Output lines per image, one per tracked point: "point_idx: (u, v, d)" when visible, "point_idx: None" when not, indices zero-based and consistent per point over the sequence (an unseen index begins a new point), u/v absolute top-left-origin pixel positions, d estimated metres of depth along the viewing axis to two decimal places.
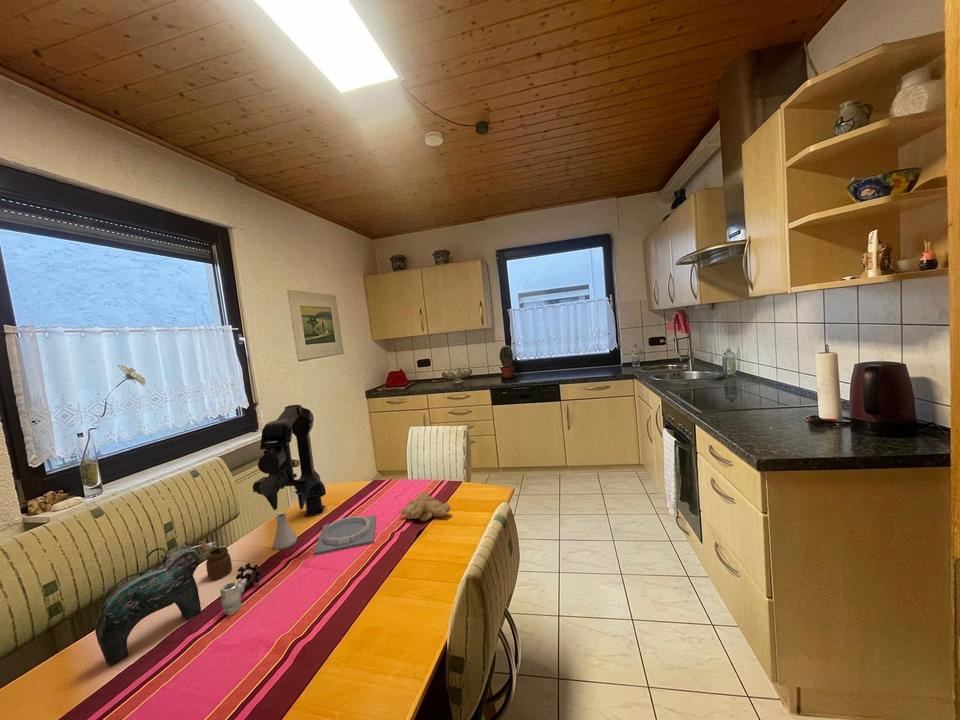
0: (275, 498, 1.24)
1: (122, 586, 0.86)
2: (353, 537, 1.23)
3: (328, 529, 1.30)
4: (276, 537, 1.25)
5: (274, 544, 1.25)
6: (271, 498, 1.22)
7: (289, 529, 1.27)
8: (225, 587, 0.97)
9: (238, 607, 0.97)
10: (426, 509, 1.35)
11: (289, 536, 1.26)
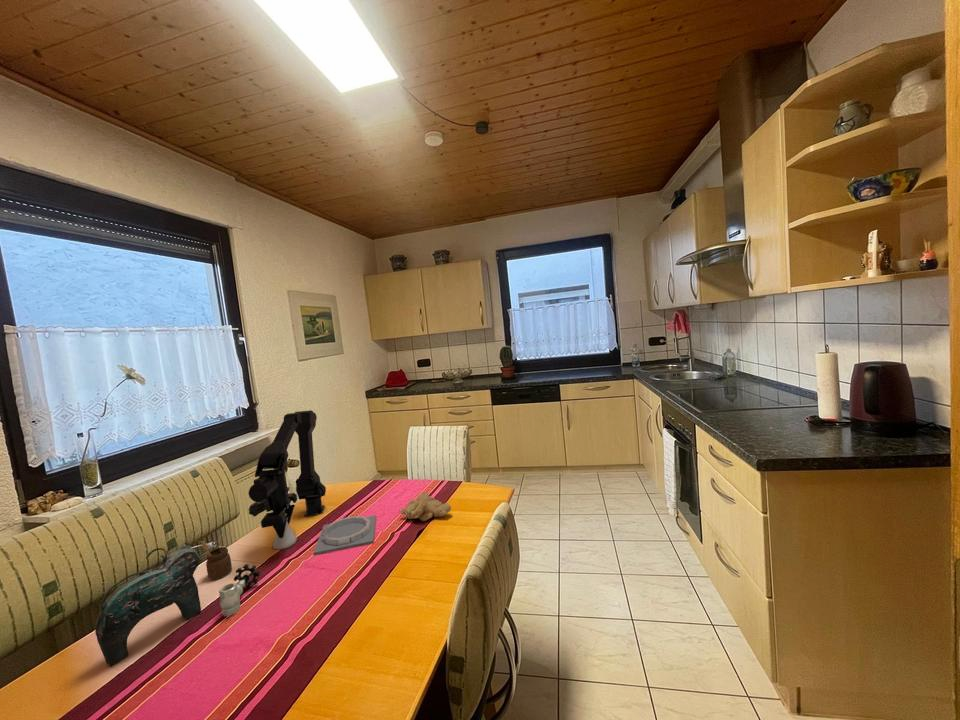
0: (286, 520, 1.29)
1: (122, 586, 0.86)
2: (353, 537, 1.23)
3: (328, 529, 1.30)
4: (276, 537, 1.25)
5: (274, 544, 1.25)
6: None
7: (289, 529, 1.27)
8: (224, 588, 0.96)
9: (237, 608, 0.96)
10: (426, 509, 1.35)
11: (289, 536, 1.26)
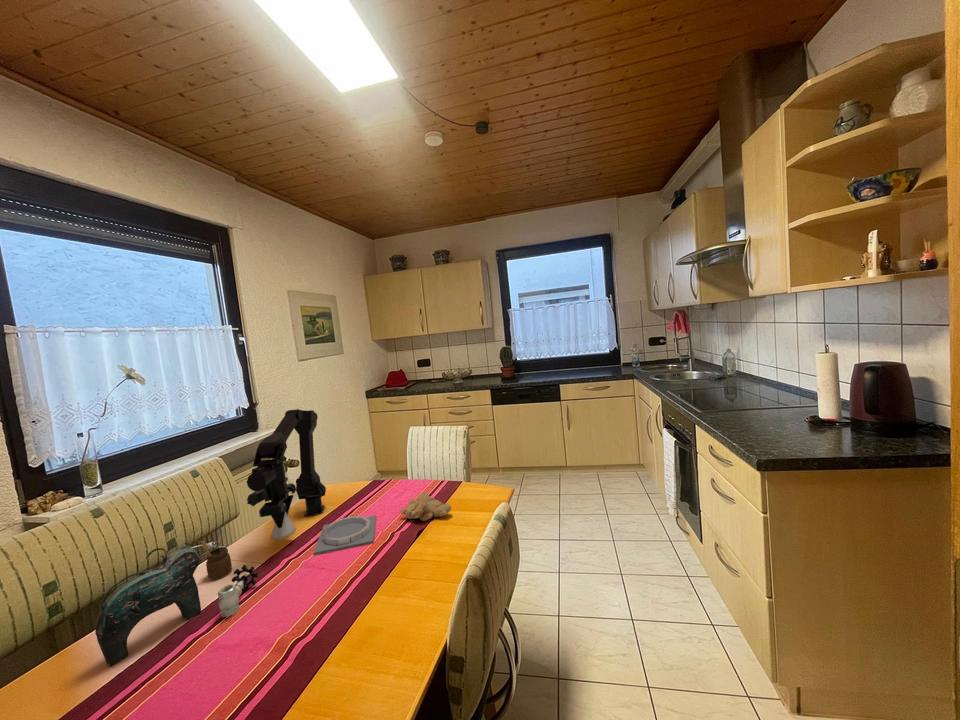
0: (285, 510, 1.29)
1: (122, 586, 0.86)
2: (353, 537, 1.23)
3: (328, 529, 1.30)
4: (275, 527, 1.25)
5: (273, 534, 1.24)
6: None
7: (288, 519, 1.27)
8: (222, 590, 0.96)
9: (236, 609, 0.96)
10: (426, 509, 1.35)
11: (288, 526, 1.26)
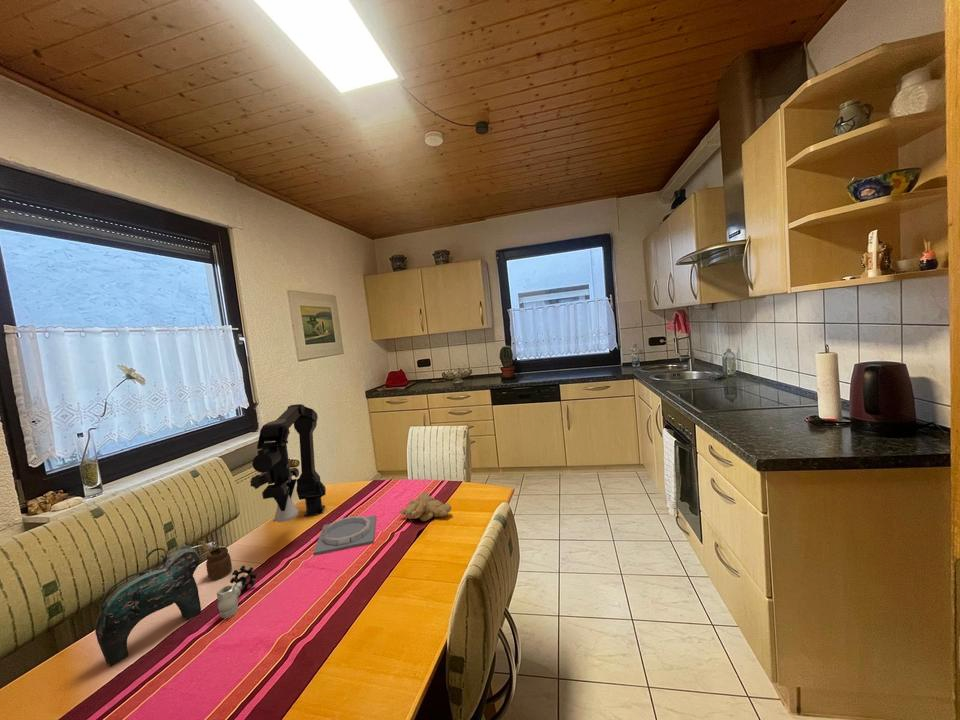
0: (288, 494, 1.29)
1: (122, 586, 0.86)
2: (353, 537, 1.23)
3: (328, 529, 1.30)
4: (278, 510, 1.25)
5: (276, 517, 1.24)
6: None
7: (291, 502, 1.27)
8: (221, 590, 0.96)
9: (235, 610, 0.96)
10: (427, 509, 1.35)
11: (291, 509, 1.26)
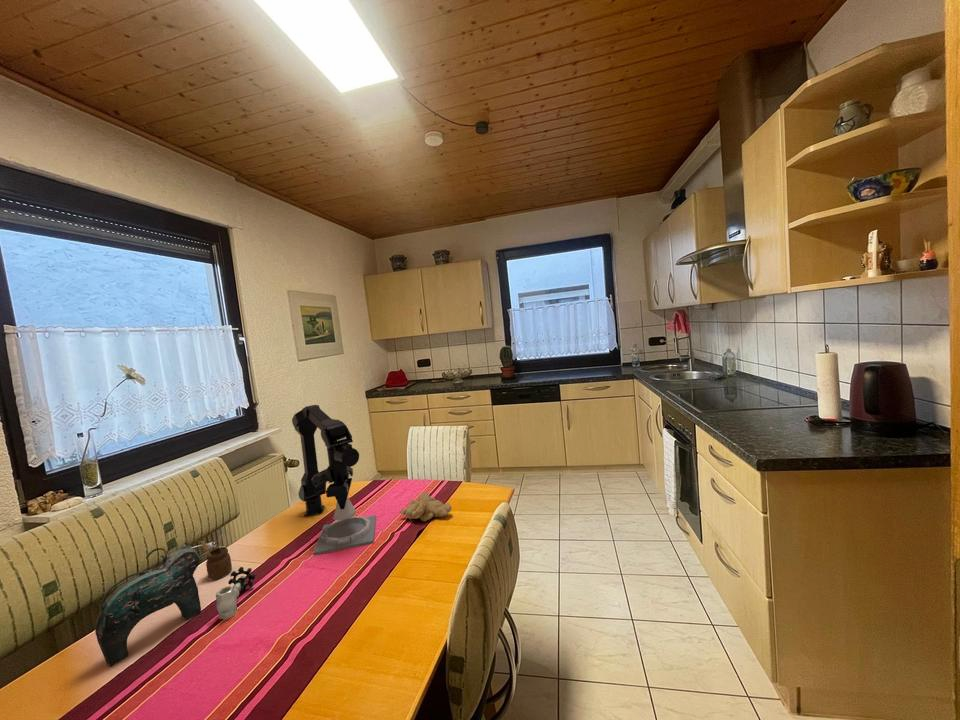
0: None
1: (122, 586, 0.86)
2: (353, 537, 1.23)
3: (328, 529, 1.30)
4: (337, 508, 1.27)
5: (335, 515, 1.26)
6: None
7: (349, 501, 1.29)
8: (220, 592, 0.95)
9: (234, 611, 0.95)
10: (427, 509, 1.35)
11: (349, 507, 1.28)
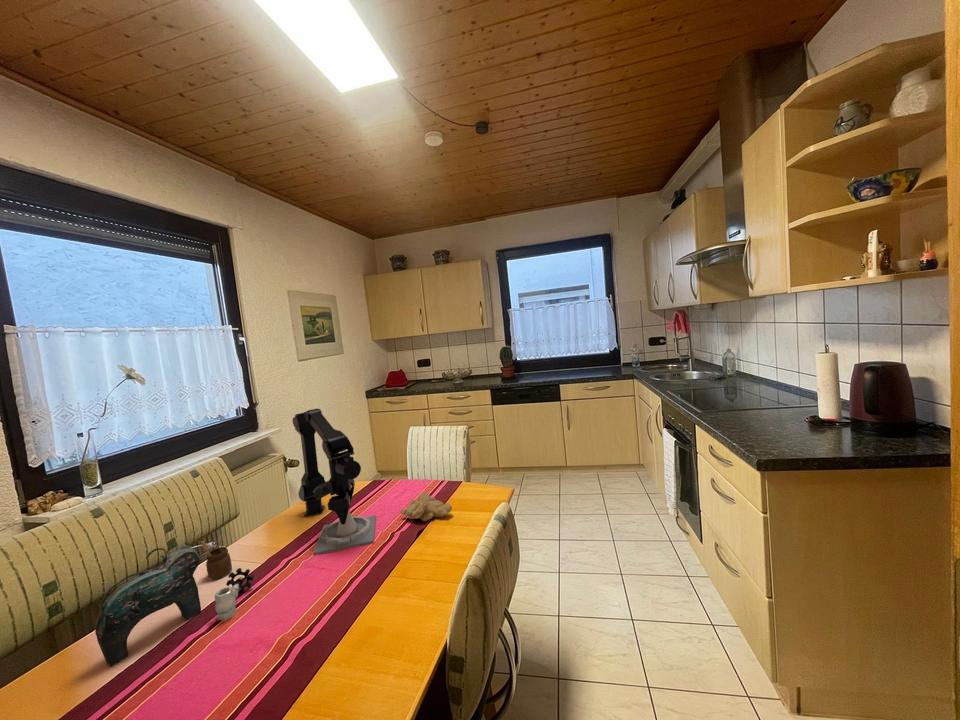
0: None
1: (122, 586, 0.86)
2: (353, 537, 1.23)
3: (328, 529, 1.30)
4: (339, 525, 1.27)
5: (337, 532, 1.27)
6: None
7: (351, 517, 1.29)
8: (219, 593, 0.95)
9: (233, 612, 0.95)
10: (427, 509, 1.35)
11: (352, 524, 1.28)
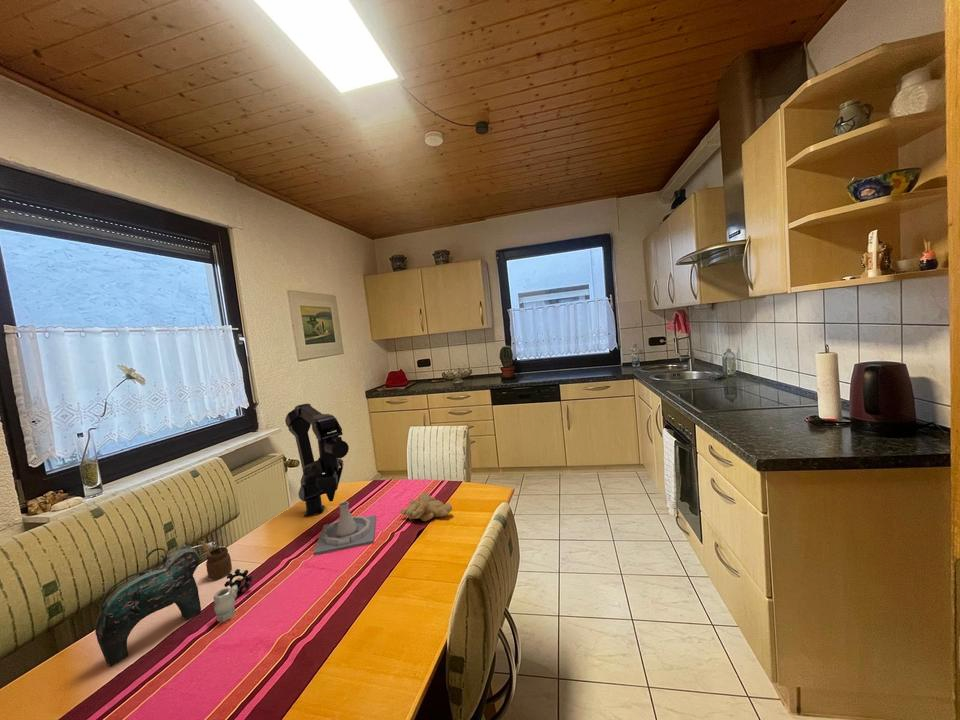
0: None
1: (122, 586, 0.86)
2: (353, 537, 1.23)
3: (328, 529, 1.30)
4: (339, 525, 1.27)
5: (337, 532, 1.27)
6: None
7: (351, 517, 1.29)
8: (218, 594, 0.94)
9: (232, 613, 0.95)
10: (427, 509, 1.35)
11: (352, 524, 1.28)
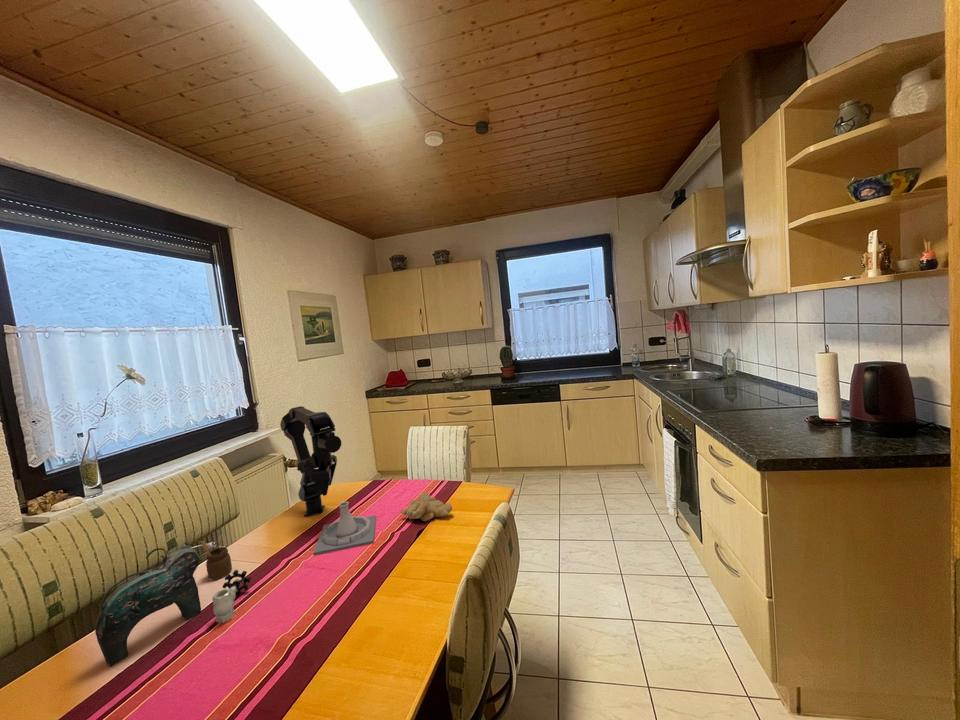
0: (330, 476, 1.43)
1: (122, 586, 0.86)
2: (353, 537, 1.23)
3: (328, 529, 1.30)
4: (339, 525, 1.27)
5: (337, 532, 1.27)
6: None
7: (351, 517, 1.29)
8: (217, 595, 0.94)
9: (231, 614, 0.94)
10: (428, 509, 1.35)
11: (352, 524, 1.28)
